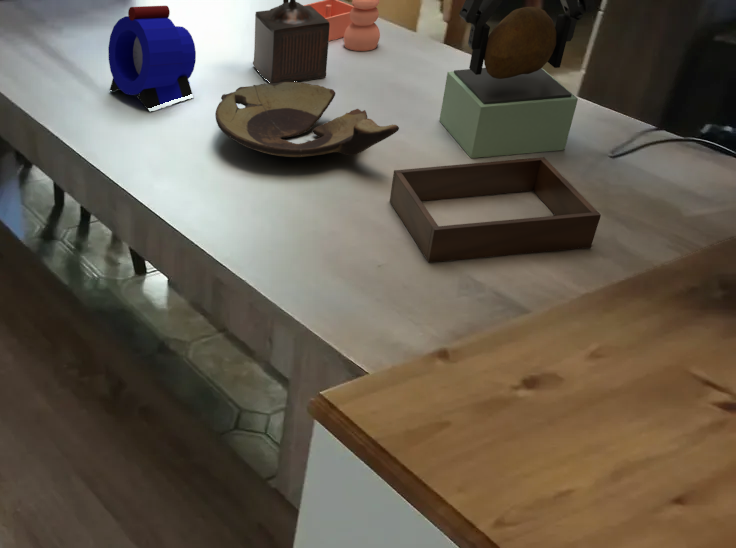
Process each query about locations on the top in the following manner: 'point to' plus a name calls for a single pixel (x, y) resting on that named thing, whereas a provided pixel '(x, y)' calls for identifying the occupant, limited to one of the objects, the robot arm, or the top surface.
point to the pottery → (351, 22)
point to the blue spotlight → (151, 56)
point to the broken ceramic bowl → (294, 121)
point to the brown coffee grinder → (291, 43)
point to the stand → (507, 113)
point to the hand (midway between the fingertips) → (514, 68)
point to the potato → (520, 43)
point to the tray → (496, 237)
